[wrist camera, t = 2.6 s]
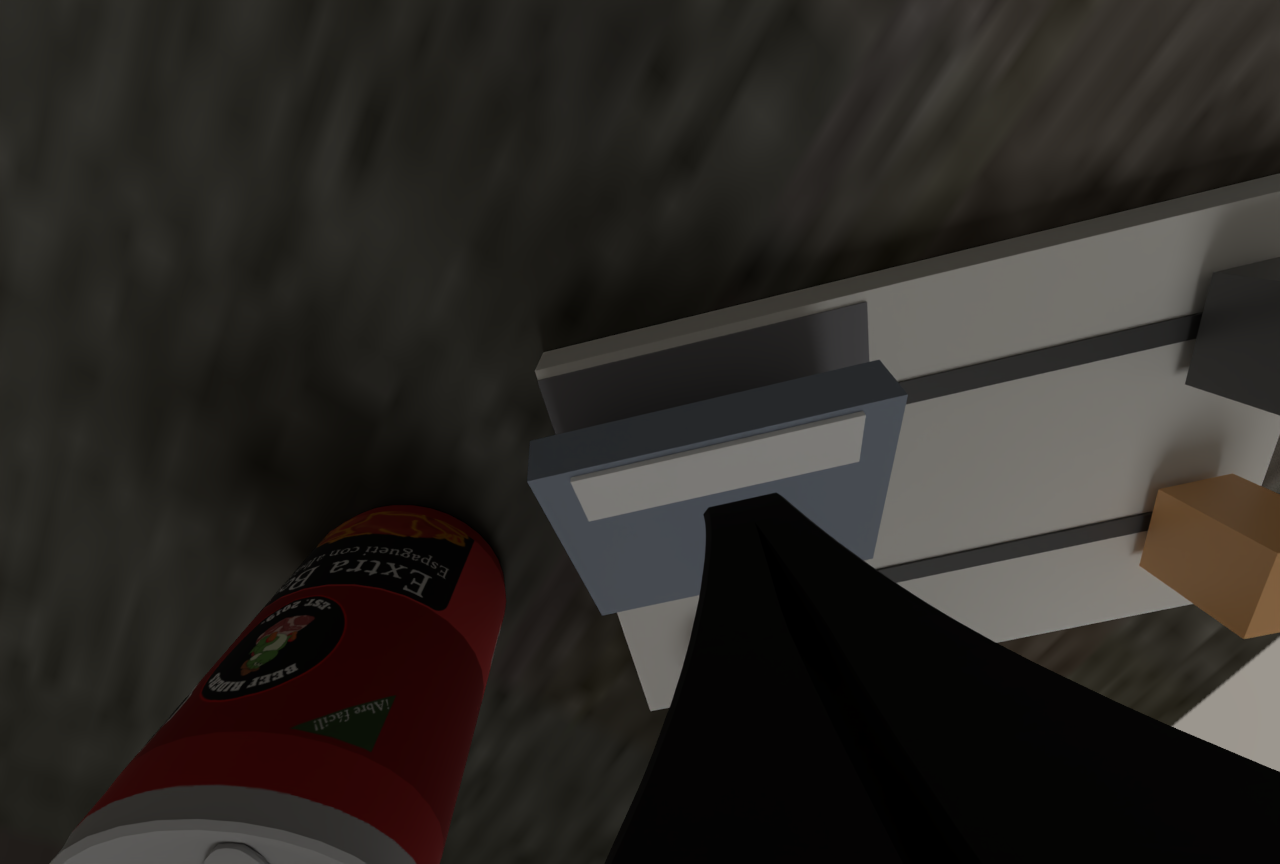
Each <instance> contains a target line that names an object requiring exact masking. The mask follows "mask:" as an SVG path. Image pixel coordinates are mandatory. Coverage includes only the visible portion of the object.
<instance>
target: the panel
mask: <svg viewBox="0 0 1280 864" xmlns="http://www.w3.org/2000/svg"><path fill="white" fill-rule="evenodd" d="M1277 257H1280V173H1279V174H1275V175H1270V176H1266V177H1262V178H1258V179H1254V180H1250V181H1246V182H1242V183H1238V184H1233V185H1229V186H1225V187H1221V188H1217V189H1213V190H1209V191H1205V192H1201V193H1196V194H1192V195H1188V196H1184V197H1180V198H1176V199H1172V200H1168V201H1164V202H1159V203H1155V204H1151V205H1147V206H1143V207H1139V208H1135V209H1131V210H1127V211H1122V212H1118V213H1114V214H1110V215H1106V216H1102V217H1098V218H1094V219H1090V220H1085V221H1081V222H1077V223H1073V224H1069V225H1065V226H1061V227H1057V228H1053V229H1048V230H1044V231H1040V232H1036V233H1032V234H1028V235H1024V236H1020V237H1016V238H1011V239H1007V240H1003V241H999V242H995V243H991V244H987V245H983V246H979V247H974V248H970V249H966V250H962V251H958V252H954V253H950V254H946V255H942V256H937V257H933V258H929V259H925V260H921V261H917V262H913V263H909V264H905V265H900V266H896V267H892V268H888V269H884V270H880V271H876V272H872V273H868V274H863V275H859V276H855V277H851V278H847V279H843V280H839V281H835V282H831V283H826V284H822V285H818V286H814V287H810V288H806V289H802V290H798V291H794V292H789V293H785V294H781V295H777V296H773V297H769V298H765V299H761V300H756V301H752V302H748V303H744V304H740V305H736V306H732V307H728V308H724V309H719V310H715V311H711V312H707V313H703V314H699V315H695V316H691V317H687V318H682V319H678V320H674V321H670V322H666V323H662V324H658V325H654V326H650V327H645V328H641V329H637V330H633V331H629V332H625V333H621V334H617V335H613V336H608V337H604V338H600V339H596V340H592V341H588V342H584V343H580V344H576V345H571V346H567V347H563V348H559V349H555V350H551V351H547V352H543V354H542V356H541V358H540V360H539V363H538V365H537V367H536V369H535V373H536V376H537V379H538V381H537V382H538V385H539V387H540V390H541V393H542V396H543V399H544V402H545V405H546V408H547V411H548V414H549V417H550V420H551V423H552V426H553V429H554V431H555V434H556V435H557V434H562V433H566V432H570V431H575V430H579V429H583V428H587V427H592V426H596V425H600V424H605V423H609V422H613V421H617V420H622V419H626V418H630V417H635V416H639V415H643V414H648V413H652V412H656V411H660V410H665V409H669V408H673V407H678V406H682V405H686V404H690V403H695V402H699V401H703V400H708V399H712V398H716V397H720V396H725V395H729V394H733V393H738V392H742V391H746V390H750V389H755V388H759V387H763V386H768V385H772V384H776V383H781V382H785V381H789V380H793V379H798V378H802V377H806V376H811V375H815V374H819V373H823V372H828V371H832V370H836V369H841V368H845V367H849V366H853V365H858V364H862V363H866V362H871V361H875V360H879V359H880V361H881V362H882V363H883V364H884V366H885V367H886V368H887V369H888V371H889V372H890V373H891V374H892V375H893V377H894V378H895V379H896V380H897V382H898V383H899V384H900V385H901V387H902V388H903V389H904V390H905V392H906V393H907V394H908V397H907V401H906V406H905V411H904V415H903V420H902V425H901V429H900V434H899V439H898V443H897V448H896V453H895V458H894V462H893V467H892V472H891V476H890V481H889V486H888V490H887V495H886V500H885V504H884V509H883V514H882V518H881V523H880V528H879V532H878V537H877V542H876V547H875V551H874V556H873V559H868V560H864V561H865V562H866V563H868V564H869V565H871V566H872V567H873V568H875V569H876V570H878V571H879V572H881V573H882V574H884V575H885V576H886V577H888V578H889V579H891V580H892V581H894V582H895V583H897V584H899V585H900V586H902V587H903V588H905V589H906V590H908V591H909V592H911V593H912V594H914V595H915V596H917V597H919V598H920V599H922V600H923V601H925V602H927V603H928V604H930V605H931V606H933V607H935V608H936V609H938V610H939V611H941V612H943V613H945V614H946V615H948V616H950V617H951V618H953V619H955V620H956V621H958V622H960V623H962V624H963V625H965V626H967V627H969V628H971V629H972V630H974V631H976V632H978V633H979V634H981V635H983V636H985V637H987V638H988V639H990V640H992V641H994V642H996V643H997V642H1003V641H1008V640H1013V639H1018V638H1023V637H1028V636H1033V635H1038V634H1043V633H1048V632H1053V631H1058V630H1063V629H1068V628H1073V627H1078V626H1083V625H1088V624H1093V623H1098V622H1103V621H1108V620H1114V619H1119V618H1124V617H1129V616H1134V615H1139V614H1144V613H1149V612H1154V611H1159V610H1164V609H1169V608H1174V607H1179V606H1184V605H1189V604H1193V603H1192V602H1190V601H1189V600H1187V599H1186V598H1185V597H1183V596H1182V595H1180V594H1179V593H1177V592H1176V591H1175V590H1173V589H1172V588H1170V587H1169V586H1167V585H1166V584H1165V583H1163V582H1162V581H1160V580H1159V579H1158V578H1156V577H1155V576H1153V575H1152V574H1150V573H1149V572H1148V571H1146V570H1145V569H1143V568H1142V567H1140V566H1139V564H1140V560H1141V556H1142V552H1143V549H1144V545H1145V541H1146V537H1147V533H1148V529H1149V525H1150V521H1151V517H1152V513H1153V509H1154V505H1155V501H1156V497H1157V493H1158V489H1161V488H1166V487H1171V486H1176V485H1180V484H1185V483H1190V482H1194V481H1199V480H1204V479H1209V478H1213V477H1218V476H1223V475H1228V474H1232V473H1233V474H1235V475H1237V476H1240V477H1242V478H1244V479H1246V480H1249V481H1251V482H1253V483H1255V484H1257V485H1260V486H1262V483H1263V480H1264V477H1265V474H1266V471H1267V469H1268V466H1269V463H1270V460H1271V457H1272V455H1273V452H1274V449H1275V446H1276V443H1277V440H1278V438H1279V435H1280V415H1276V414H1273V413H1270V412H1267V411H1264V410H1261V409H1258V408H1255V407H1252V406H1249V405H1246V404H1243V403H1240V402H1237V401H1234V400H1231V399H1228V398H1225V397H1222V396H1219V395H1216V394H1213V393H1210V392H1207V391H1204V390H1201V389H1197V388H1194V387H1191V386H1188V385H1185V382H1186V378H1187V374H1188V370H1189V366H1190V362H1191V358H1192V354H1193V350H1194V346H1195V342H1196V338H1197V334H1198V330H1199V326H1200V322H1201V318H1202V314H1203V310H1204V306H1205V302H1206V298H1207V294H1208V290H1209V286H1210V282H1211V278H1212V274H1213V272H1217V271H1221V270H1226V269H1230V268H1234V267H1238V266H1243V265H1247V264H1251V263H1255V262H1260V261H1264V260H1268V259H1273V258H1277ZM698 601H699V595H697V596H693V597H688V598H683V599H679V600H674V601H669V602H664V603H660V604H655V605H650V606H645V607H641V608H636V609H631V610H626V611H622V612H617V614H618V617H619V620H620V623H621V626H622V629H623V632H624V635H625V638H626V641H627V644H628V646H629V649H630V652H631V655H632V658H633V661H634V664H635V667H636V670H637V673H638V676H639V679H640V682H641V685H642V688H643V691H644V693H645V696H646V699H647V702H648V705H649V708H650V711H654V710H659V709H665V708H670V705H671V702H672V699H673V696H674V693H675V690H676V686H677V683H678V680H679V677H680V674H681V670H682V667H683V663H684V660H685V656H686V652H687V649H688V645H689V641H690V637H691V632H692V628H693V623H694V619H695V614H696V610H697V605H698Z"/></svg>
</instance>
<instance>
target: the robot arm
mask: <svg viewBox="0 0 1280 864" xmlns="http://www.w3.org/2000/svg"><path fill="white" fill-rule="evenodd" d="M703 515H704V520H705V528H706V545H705V560H704V567H703V574H702V582H701V589H700V595H699V601H698V605H697V610H696V614H695V619H694V623H693V628H692V632H691V637H690V641H689V645H688V649H687V652H686V656H685V660H684V663H683V667H682V670H681V674H680V677H679V680H678V683H677V686H676V690H675V693H674V696H673V699H672V702H671V705H670V708H669V711H668V713H667V716H666V719H665V722H664V724H663V727H662V730H661V733H660V735H659V738H658V741H657V743H656V746H655V749H654V752H653V754H652V757H651V759H650V762H649V764H648V767H647V769H646V772H645V774H644V777H643V779H642V781H641V784H640V786H639V788H638V791H637V793H636V795H635V797H634V800H633V802H632V804H631V806H630V808H629V811H628V813H627V815H626V817H625V819H624V822H623V824H622V826H621V828H620V831H619V833H618V835H617V837H616V839H615V842H614V844H613V846H612V848H611V851H610V853H609V855H608V857H607V859H606V862H605V864H1280V772H1279V771H1276V770H1274V769H1271V768H1269V767H1266V766H1264V765H1261V764H1259V763H1257V762H1254V761H1252V760H1250V759H1247V758H1245V757H1242V756H1240V755H1238V754H1235V753H1233V752H1231V751H1228V750H1226V749H1223V748H1221V747H1218V746H1216V745H1214V744H1212V743H1209V742H1207V741H1205V740H1202V739H1200V738H1197V737H1195V736H1192V735H1190V734H1188V733H1186V732H1183V731H1181V730H1178V729H1176V728H1174V727H1171V726H1169V725H1167V724H1164V723H1162V722H1160V721H1158V720H1155V719H1153V718H1151V717H1149V716H1147V715H1144V714H1142V713H1140V712H1138V711H1135V710H1133V709H1131V708H1129V707H1126V706H1124V705H1122V704H1120V703H1118V702H1115V701H1113V700H1111V699H1109V698H1107V697H1105V696H1103V695H1101V694H1099V693H1097V692H1095V691H1093V690H1090V689H1088V688H1086V687H1084V686H1082V685H1080V684H1078V683H1076V682H1074V681H1072V680H1070V679H1067V678H1065V677H1063V676H1061V675H1059V674H1057V673H1055V672H1053V671H1051V670H1049V669H1047V668H1044V667H1042V666H1040V665H1038V664H1036V663H1034V662H1032V661H1030V660H1028V659H1026V658H1024V657H1022V656H1021V655H1019V654H1017V653H1015V652H1013V651H1011V650H1009V649H1007V648H1005V647H1003V646H1001V645H999V644H997V643H996V642H994V641H992V640H990V639H988V638H987V637H985V636H983V635H981V634H979V633H978V632H976V631H974V630H972V629H971V628H969V627H967V626H965V625H963V624H962V623H960V622H958V621H956V620H955V619H953V618H951V617H950V616H948V615H946V614H945V613H943V612H941V611H939V610H938V609H936V608H935V607H933V606H931V605H930V604H928V603H927V602H925V601H923V600H922V599H920V598H919V597H917V596H915V595H914V594H912V593H911V592H909V591H908V590H906V589H905V588H903V587H902V586H900V585H899V584H897V583H895V582H894V581H892V580H891V579H889V578H888V577H886V576H885V575H884V574H882V573H881V572H879V571H878V570H876V569H875V568H873V567H872V566H871V565H869V564H868V563H866V562H865V561H864V560H862V559H861V558H860V557H858V556H857V555H855V554H854V553H853V552H851V551H850V550H849V549H847V548H846V547H845V546H843V545H842V544H840V543H839V542H838V541H836V540H835V539H834V538H833V537H831V536H830V535H829V534H827V533H826V532H825V531H824V530H822V529H821V528H820V527H819V526H817V525H816V524H815V523H814V522H812V521H811V520H810V519H809V518H808V517H806V516H805V515H804V514H803V513H802V512H800V511H799V510H798V509H797V508H796V507H794V506H793V505H792V504H791V503H790V502H789V501H787V500H786V499H785V498H784V497H783V496H781V495H780V494H778V493H771V494H767V495H762V496H758V497H753V498H749V499H744V500H740V501H735V502H731V503H726V504H721V505H717V506H712V507H708V509H707V510H706V511H705V512H704V514H703Z"/></svg>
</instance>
